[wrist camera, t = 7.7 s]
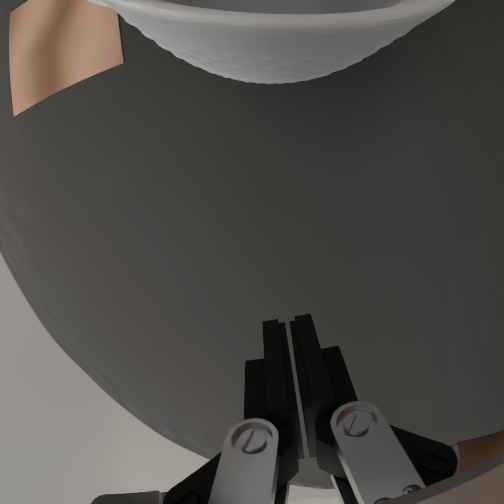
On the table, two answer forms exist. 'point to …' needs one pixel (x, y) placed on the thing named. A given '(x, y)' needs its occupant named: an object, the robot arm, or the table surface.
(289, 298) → the table surface
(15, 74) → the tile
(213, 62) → the mug
